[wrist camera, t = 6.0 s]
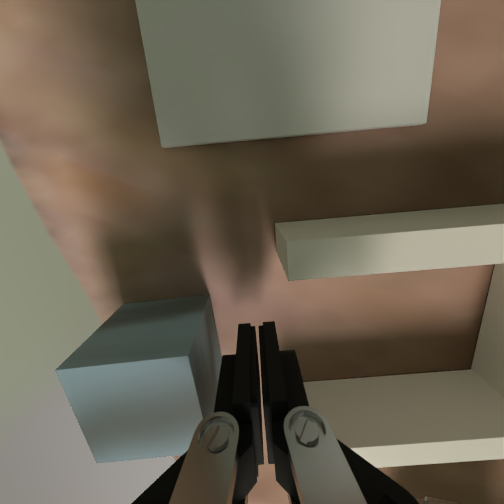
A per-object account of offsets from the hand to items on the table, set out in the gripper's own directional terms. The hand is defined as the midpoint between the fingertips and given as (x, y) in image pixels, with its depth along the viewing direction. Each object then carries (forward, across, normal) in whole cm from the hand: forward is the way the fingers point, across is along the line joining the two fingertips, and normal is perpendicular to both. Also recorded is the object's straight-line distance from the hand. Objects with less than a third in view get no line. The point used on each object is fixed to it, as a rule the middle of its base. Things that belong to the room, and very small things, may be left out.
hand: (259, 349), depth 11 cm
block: (+3, +5, +1) cm, 6 cm away
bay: (+3, -8, +1) cm, 9 cm away
